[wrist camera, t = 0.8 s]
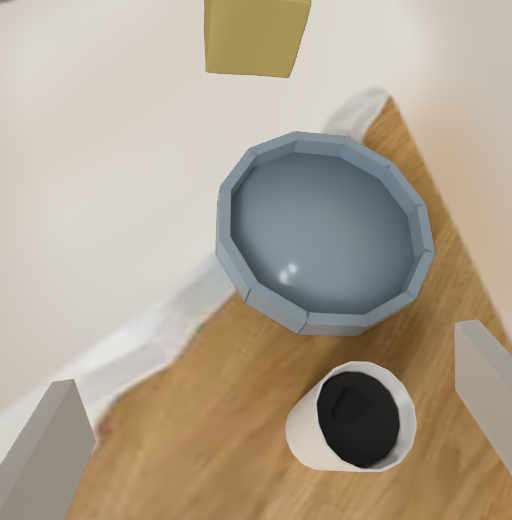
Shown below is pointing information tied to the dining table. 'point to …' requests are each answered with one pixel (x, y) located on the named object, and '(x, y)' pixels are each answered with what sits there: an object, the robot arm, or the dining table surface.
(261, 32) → the cheese
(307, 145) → the blue round tray
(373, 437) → the white coffee cup
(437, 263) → the dining table surface
